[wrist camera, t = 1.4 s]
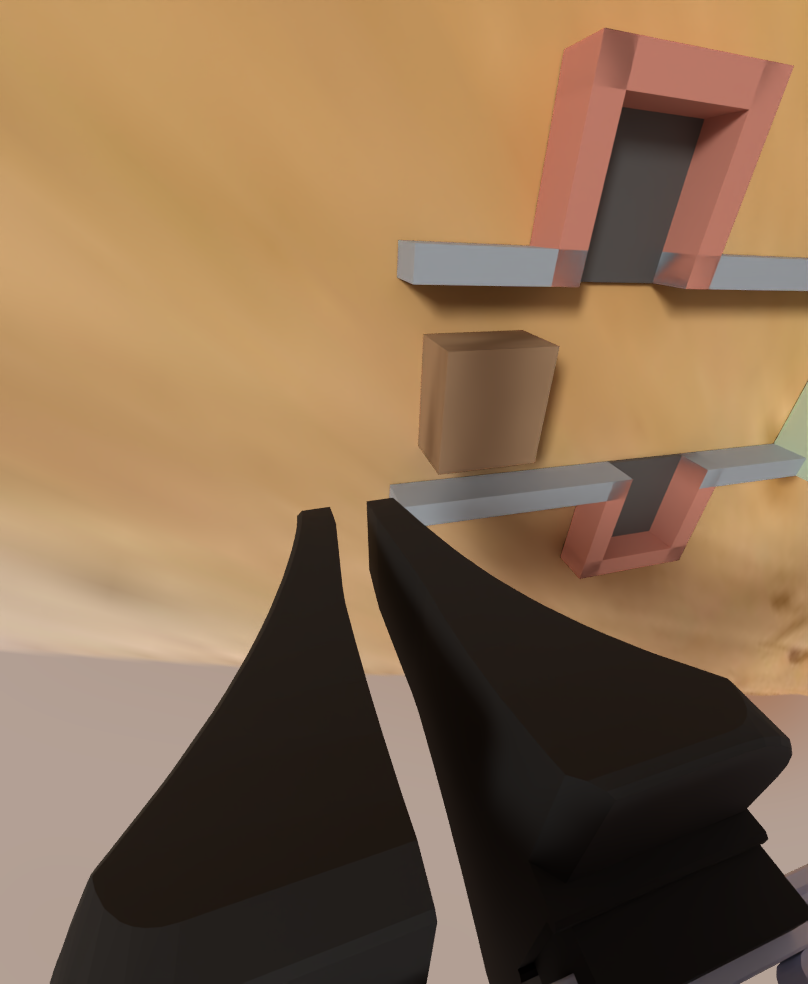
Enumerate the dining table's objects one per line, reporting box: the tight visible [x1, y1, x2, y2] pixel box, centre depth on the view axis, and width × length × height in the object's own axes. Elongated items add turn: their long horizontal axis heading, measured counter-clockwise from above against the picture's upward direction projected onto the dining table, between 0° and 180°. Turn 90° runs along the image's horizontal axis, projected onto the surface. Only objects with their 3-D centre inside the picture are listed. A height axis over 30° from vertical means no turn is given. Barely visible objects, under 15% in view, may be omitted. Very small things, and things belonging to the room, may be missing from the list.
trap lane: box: [390, 28, 808, 579], centre depth 21 cm, size 26×22×3 cm
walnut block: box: [418, 330, 559, 475], centre depth 18 cm, size 4×5×3 cm
